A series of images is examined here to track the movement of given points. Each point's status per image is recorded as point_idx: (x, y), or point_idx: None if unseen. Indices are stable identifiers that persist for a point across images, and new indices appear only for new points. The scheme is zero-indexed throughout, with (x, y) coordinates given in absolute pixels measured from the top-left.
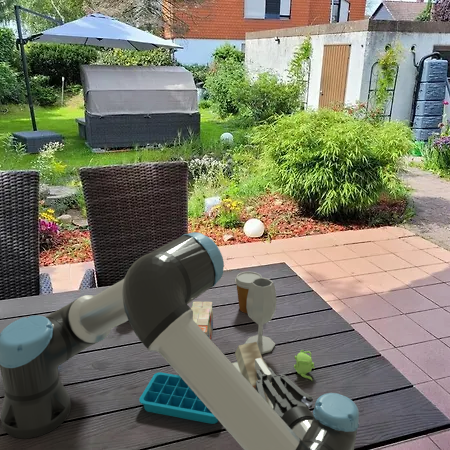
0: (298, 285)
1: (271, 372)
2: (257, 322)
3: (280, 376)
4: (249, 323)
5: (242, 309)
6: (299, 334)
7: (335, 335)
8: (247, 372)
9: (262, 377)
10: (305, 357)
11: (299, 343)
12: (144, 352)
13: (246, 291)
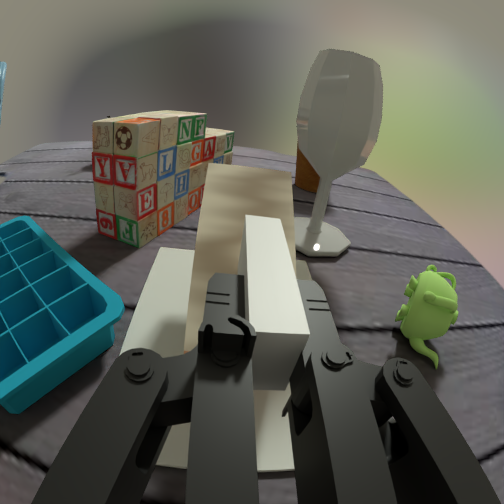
0: (395, 191)
1: (315, 317)
2: (318, 161)
3: (381, 373)
4: (304, 202)
5: (299, 181)
6: (402, 245)
7: (464, 266)
8: (192, 277)
9: (198, 342)
10: (446, 289)
11: (403, 260)
12: (76, 193)
13: None
